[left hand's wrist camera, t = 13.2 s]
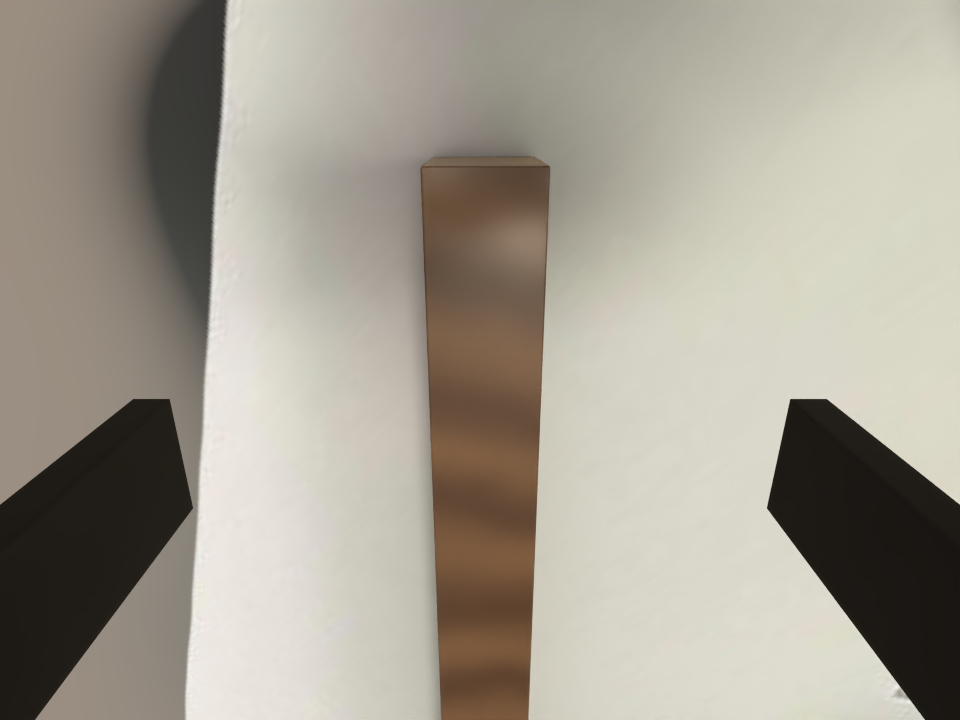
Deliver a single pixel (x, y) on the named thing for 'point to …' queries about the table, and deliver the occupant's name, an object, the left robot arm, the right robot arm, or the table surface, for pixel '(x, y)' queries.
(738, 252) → the table surface
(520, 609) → the post
